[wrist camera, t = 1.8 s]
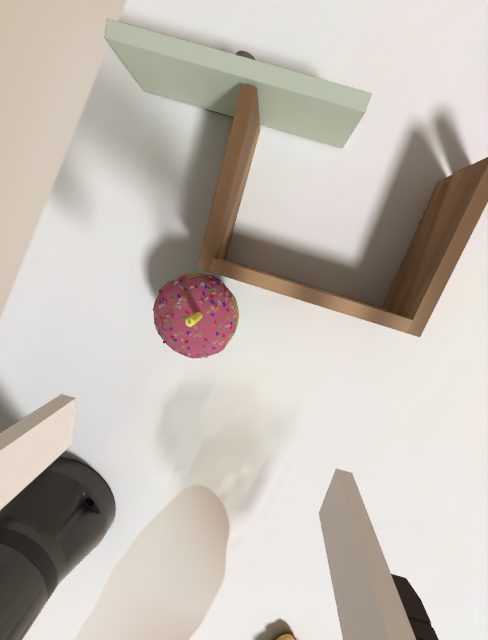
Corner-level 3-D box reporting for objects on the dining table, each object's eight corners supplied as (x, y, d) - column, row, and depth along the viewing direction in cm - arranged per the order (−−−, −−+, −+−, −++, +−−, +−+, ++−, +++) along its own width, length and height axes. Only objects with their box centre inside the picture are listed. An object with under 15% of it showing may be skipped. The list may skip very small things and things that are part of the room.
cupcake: (215, 256, 28) (176, 251, 16) (258, 318, 29) (250, 355, 17) (157, 299, 30) (85, 322, 18) (200, 356, 31) (157, 412, 19)
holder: (212, 266, 28) (196, 267, 22) (253, 108, 24) (247, 60, 18) (402, 325, 27) (437, 342, 22) (474, 172, 24) (542, 143, 18)
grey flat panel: (143, 90, 25) (104, 37, 19) (148, 59, 24) (109, -6, 18) (342, 148, 24) (365, 111, 18) (352, 118, 23) (380, 70, 18)
